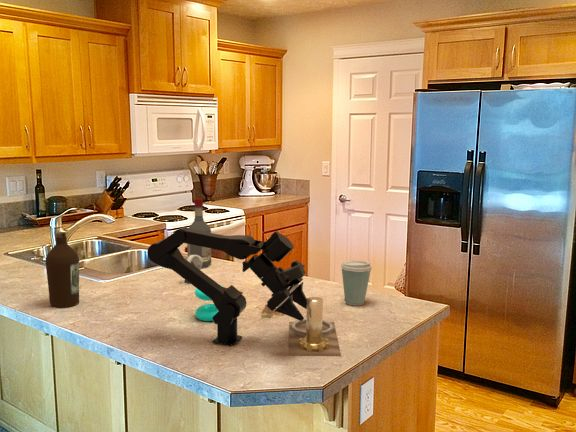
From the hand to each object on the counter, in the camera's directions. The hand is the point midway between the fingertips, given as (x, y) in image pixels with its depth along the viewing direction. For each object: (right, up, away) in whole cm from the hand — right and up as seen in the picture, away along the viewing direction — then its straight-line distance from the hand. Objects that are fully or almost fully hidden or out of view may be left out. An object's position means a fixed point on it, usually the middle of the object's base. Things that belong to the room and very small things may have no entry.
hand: (306, 314), depth 151 cm
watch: (-43, +1, +67) cm, 79 cm away
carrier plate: (+2, -9, +7) cm, 12 cm away
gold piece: (+2, -9, +1) cm, 9 cm away
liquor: (-44, +5, +93) cm, 103 cm away
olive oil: (-82, -4, +38) cm, 91 cm away
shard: (-12, -6, +30) cm, 33 cm away
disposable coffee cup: (+19, -4, +43) cm, 47 cm away
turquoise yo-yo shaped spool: (-30, -6, +27) cm, 41 cm away
